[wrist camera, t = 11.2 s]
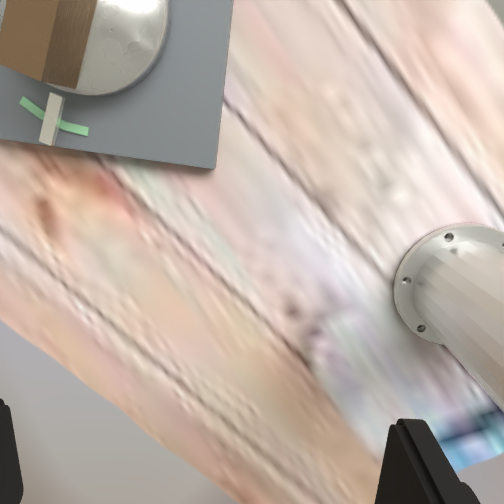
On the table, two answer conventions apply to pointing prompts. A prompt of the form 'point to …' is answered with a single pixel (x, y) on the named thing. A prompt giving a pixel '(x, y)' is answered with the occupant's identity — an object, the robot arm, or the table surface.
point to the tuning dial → (82, 46)
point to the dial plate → (140, 98)
